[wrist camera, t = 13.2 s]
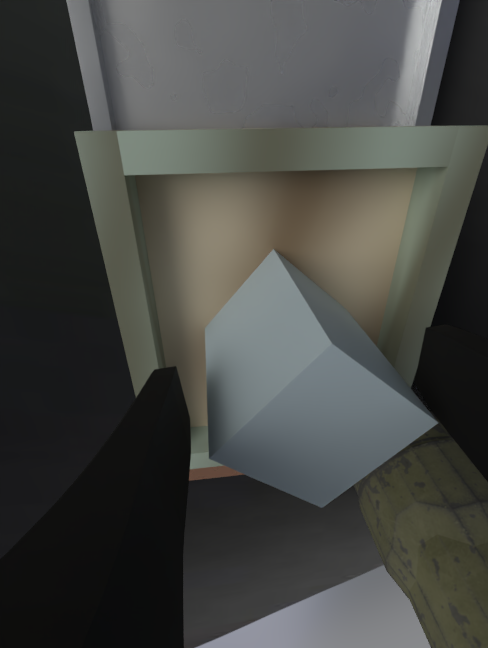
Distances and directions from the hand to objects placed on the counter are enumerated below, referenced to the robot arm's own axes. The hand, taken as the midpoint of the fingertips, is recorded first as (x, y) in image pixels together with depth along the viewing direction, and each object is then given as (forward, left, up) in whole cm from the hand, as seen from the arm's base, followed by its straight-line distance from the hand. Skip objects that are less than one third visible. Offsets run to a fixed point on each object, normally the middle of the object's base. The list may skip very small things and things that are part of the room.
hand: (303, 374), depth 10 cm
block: (0, 0, -4) cm, 4 cm away
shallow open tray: (0, 0, -7) cm, 7 cm away
